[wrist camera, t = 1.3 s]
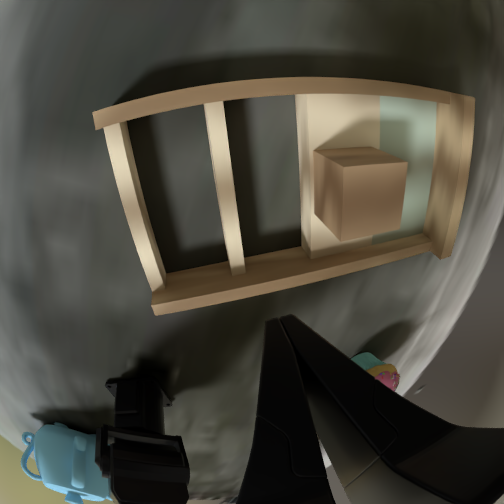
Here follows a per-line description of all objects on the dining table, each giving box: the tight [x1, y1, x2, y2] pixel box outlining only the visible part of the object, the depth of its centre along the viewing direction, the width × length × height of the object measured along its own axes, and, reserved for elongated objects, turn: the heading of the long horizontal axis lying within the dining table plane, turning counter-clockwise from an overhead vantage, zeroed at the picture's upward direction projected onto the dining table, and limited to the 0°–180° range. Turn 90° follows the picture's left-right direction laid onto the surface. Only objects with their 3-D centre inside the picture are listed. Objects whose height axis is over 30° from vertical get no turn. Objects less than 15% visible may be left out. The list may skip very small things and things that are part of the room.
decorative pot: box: [21, 422, 113, 504], centre depth 29 cm, size 16×16×14 cm
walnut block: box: [313, 146, 408, 242], centre depth 17 cm, size 4×4×4 cm
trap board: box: [92, 77, 475, 316], centre depth 18 cm, size 14×25×5 cm, turn 96°
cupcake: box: [351, 352, 399, 391], centre depth 31 cm, size 9×8×12 cm
